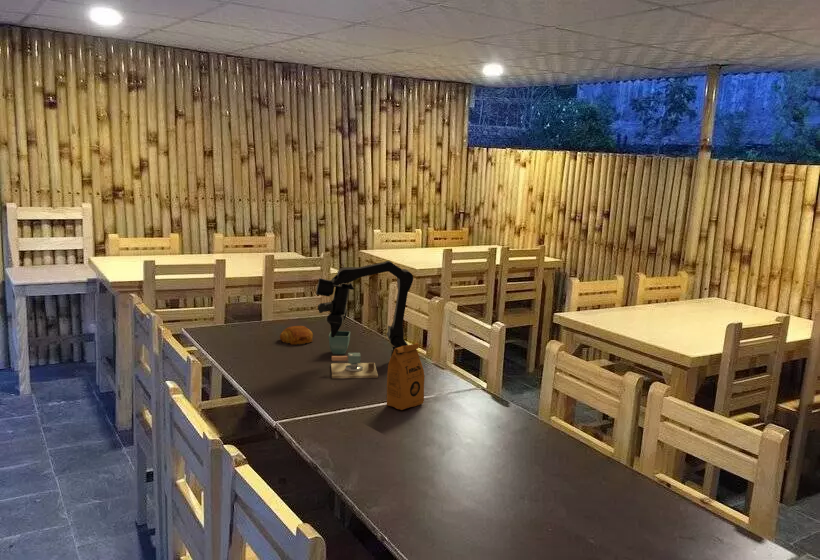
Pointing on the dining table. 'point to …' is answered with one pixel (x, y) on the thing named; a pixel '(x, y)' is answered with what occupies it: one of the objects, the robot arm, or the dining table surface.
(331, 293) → the robot arm
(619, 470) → the dining table surface
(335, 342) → the flower pot
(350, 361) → the cap
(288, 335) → the croissant
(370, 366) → the block
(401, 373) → the coffee package
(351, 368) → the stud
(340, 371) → the board
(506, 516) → the dining table surface
